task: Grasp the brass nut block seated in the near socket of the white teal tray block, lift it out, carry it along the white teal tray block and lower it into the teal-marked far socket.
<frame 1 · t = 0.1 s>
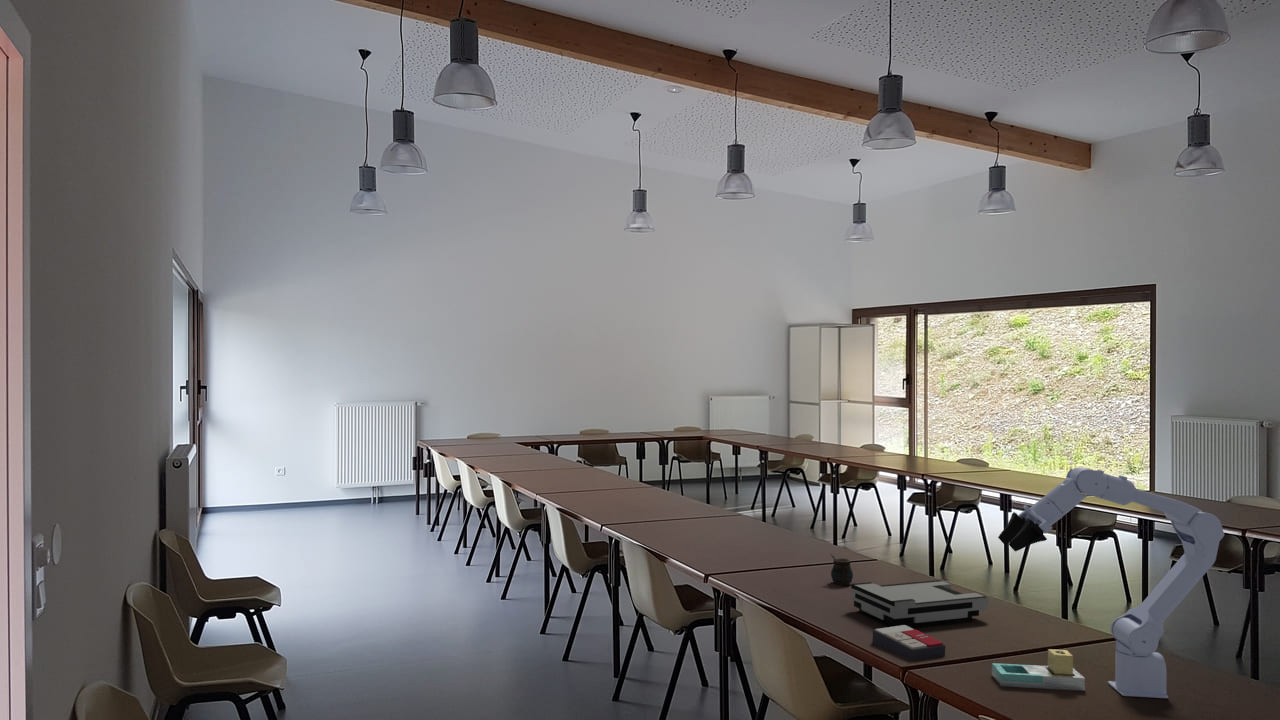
hand: (1006, 544, 192), 32 cm above the table, tool tilted 50°, fingers open, 7 cm apart
game console: (918, 617, 245), on the table
nut: (1060, 678, 192), point 1 cm above the table, touching white teal tray block
calculator: (908, 651, 215), on the table
mate gourd: (841, 584, 281), on the table
white teal tray block: (1037, 682, 192), on the table
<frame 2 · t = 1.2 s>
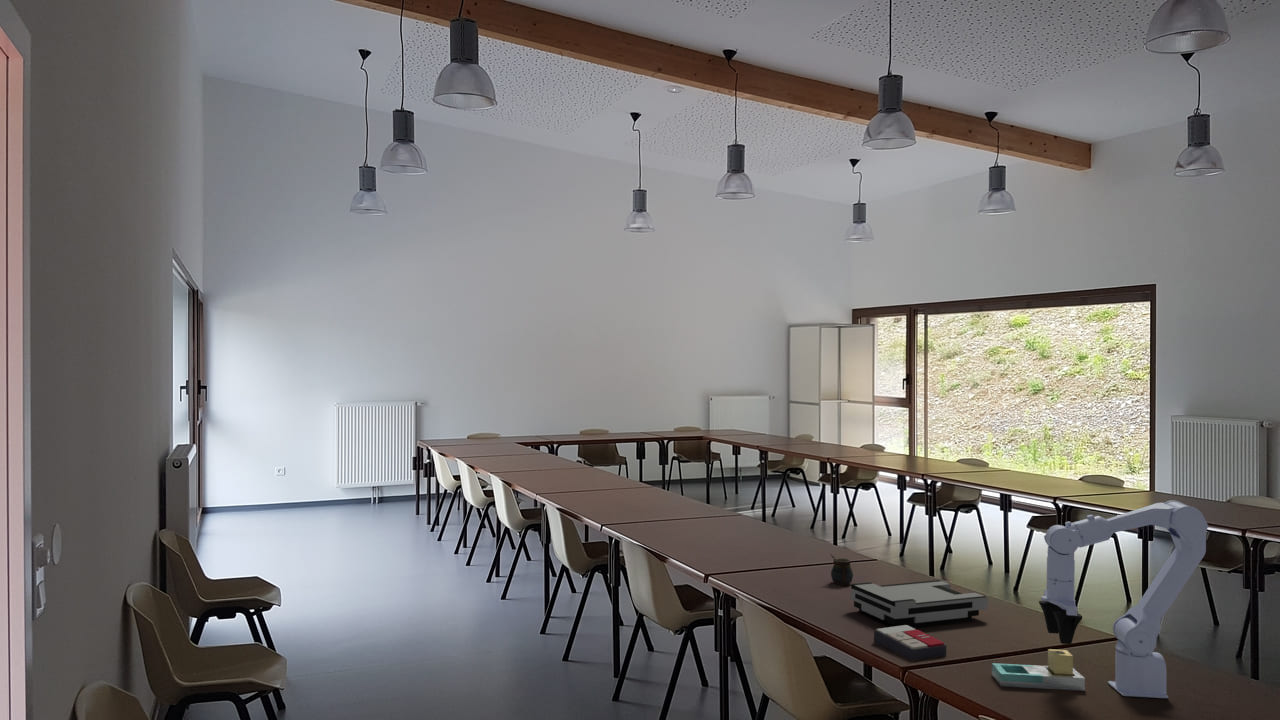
hand: (1059, 638, 192), 10 cm above the table, tool pointing down, fingers open, 7 cm apart
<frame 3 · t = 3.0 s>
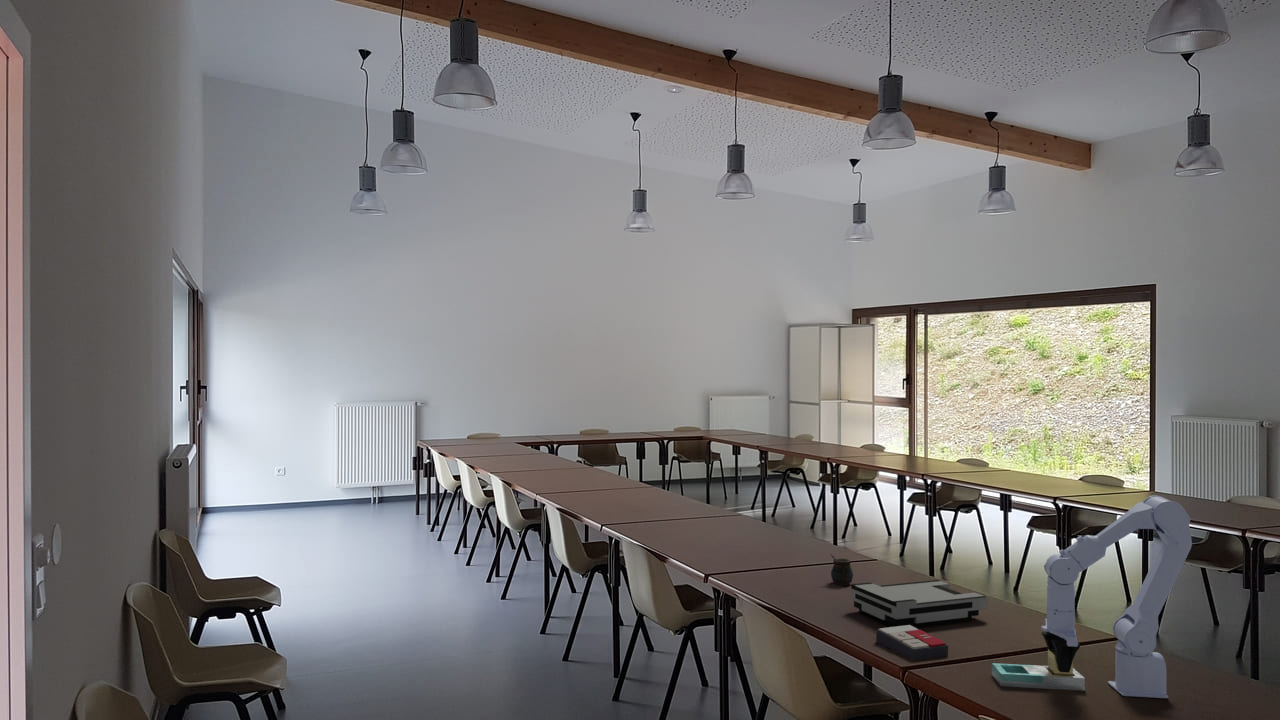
hand: (1060, 668, 192), 4 cm above the table, tool pointing down, fingers closed on nut, 4 cm apart
nut: (1060, 678, 192), point 1 cm above the table, touching gripper, white teal tray block
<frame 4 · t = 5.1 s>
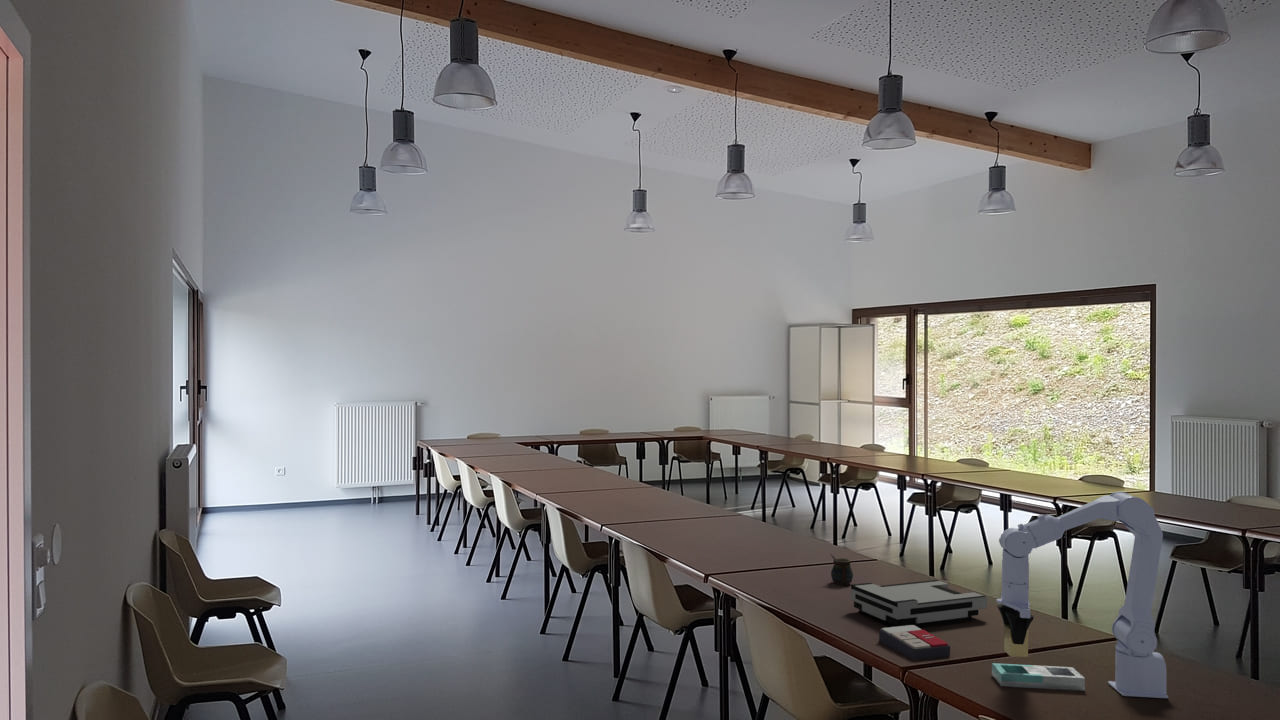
hand: (1014, 640, 193), 9 cm above the table, tool pointing down, fingers closed on nut, 4 cm apart
nut: (1015, 653, 193), point 6 cm above the table, touching gripper
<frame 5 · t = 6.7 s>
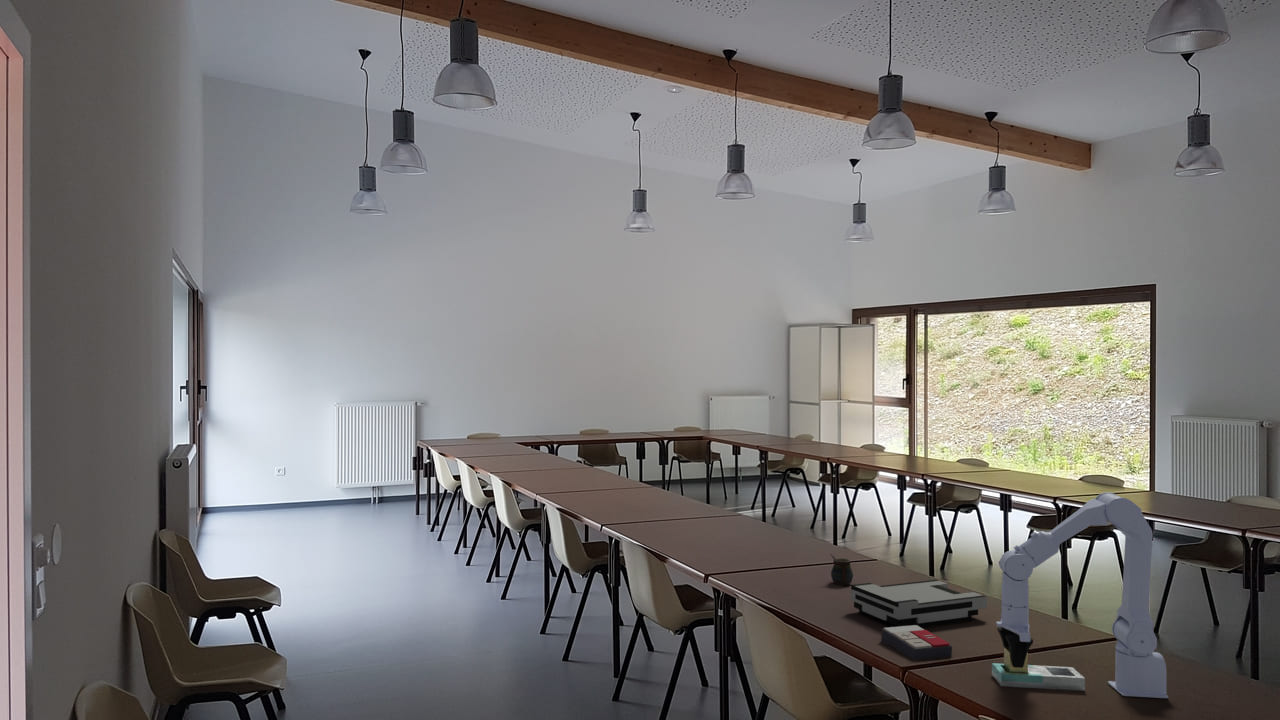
hand: (1014, 663, 193), 4 cm above the table, tool pointing down, fingers closed on nut, 4 cm apart
nut: (1015, 676, 193), point 1 cm above the table, touching gripper, white teal tray block
when the fingers open (4 cm above the table, at t = 7.4 s): nut stays where it is, resting on white teal tray block.
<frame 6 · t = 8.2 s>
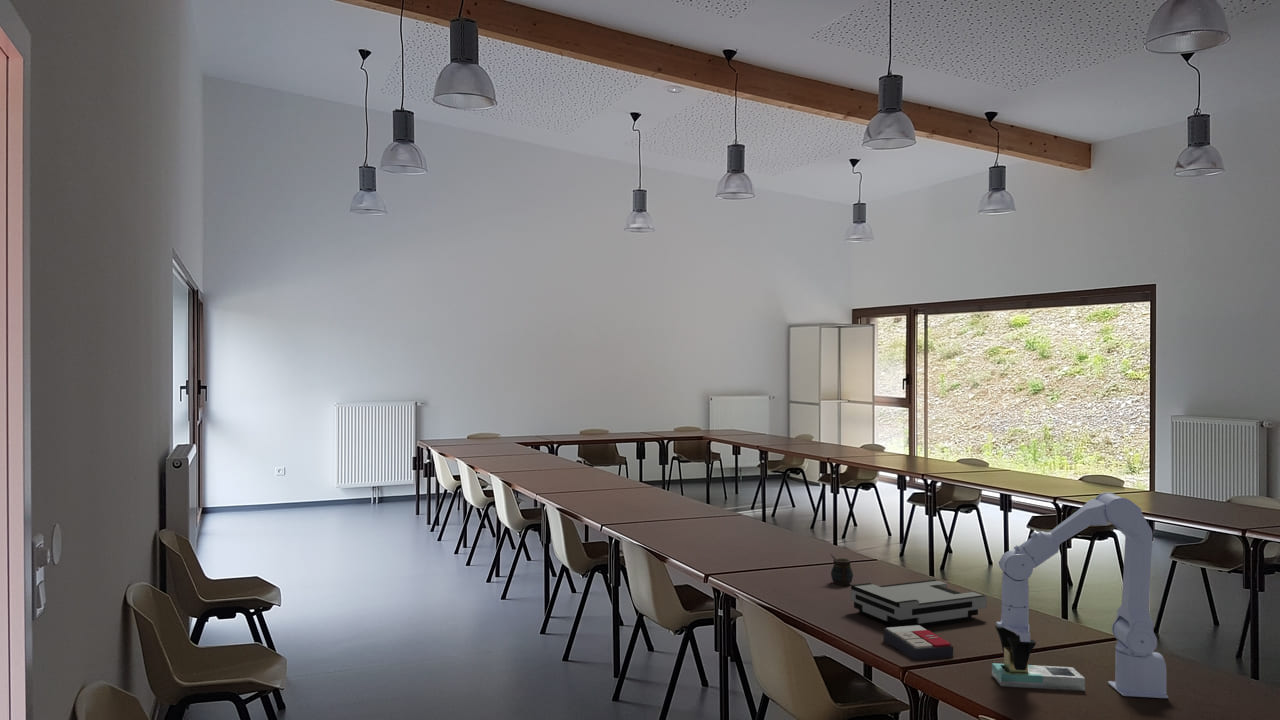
hand: (1014, 663, 193), 4 cm above the table, tool pointing down, fingers open, 7 cm apart
nut: (1015, 676, 193), point 1 cm above the table, touching white teal tray block
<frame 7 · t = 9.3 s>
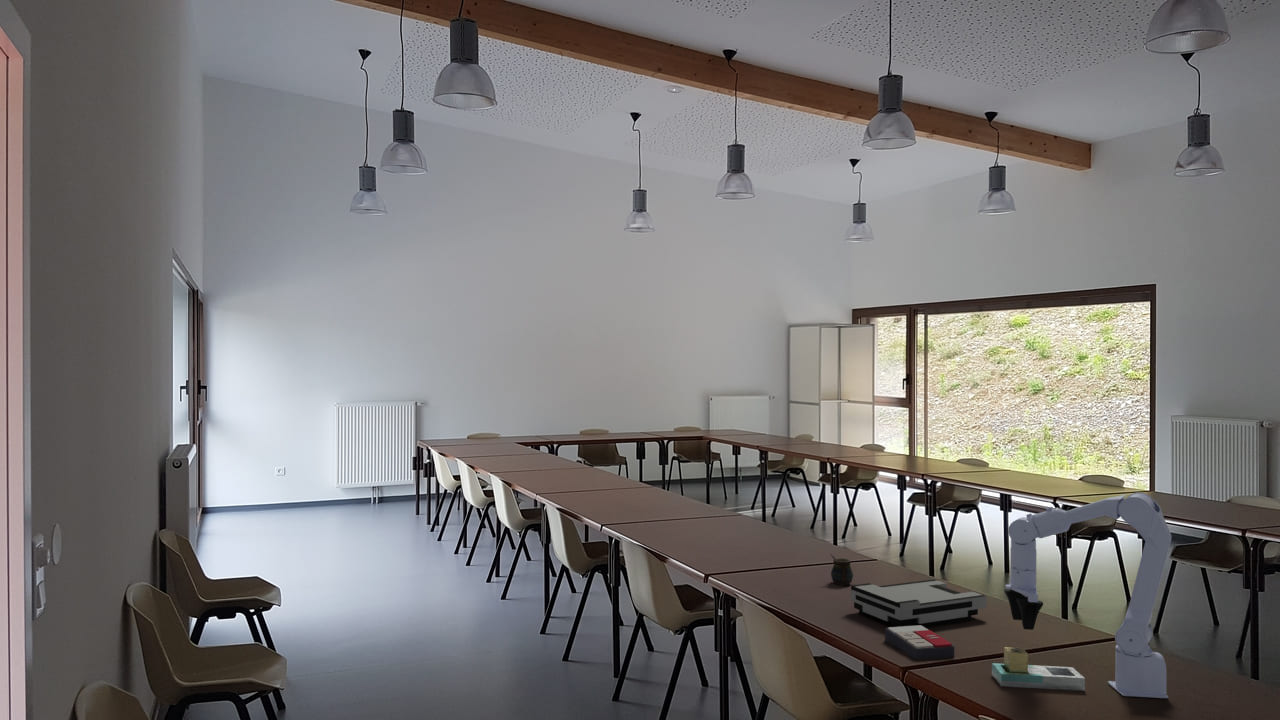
hand: (1022, 624, 203), 10 cm above the table, tool pointing down, fingers open, 7 cm apart
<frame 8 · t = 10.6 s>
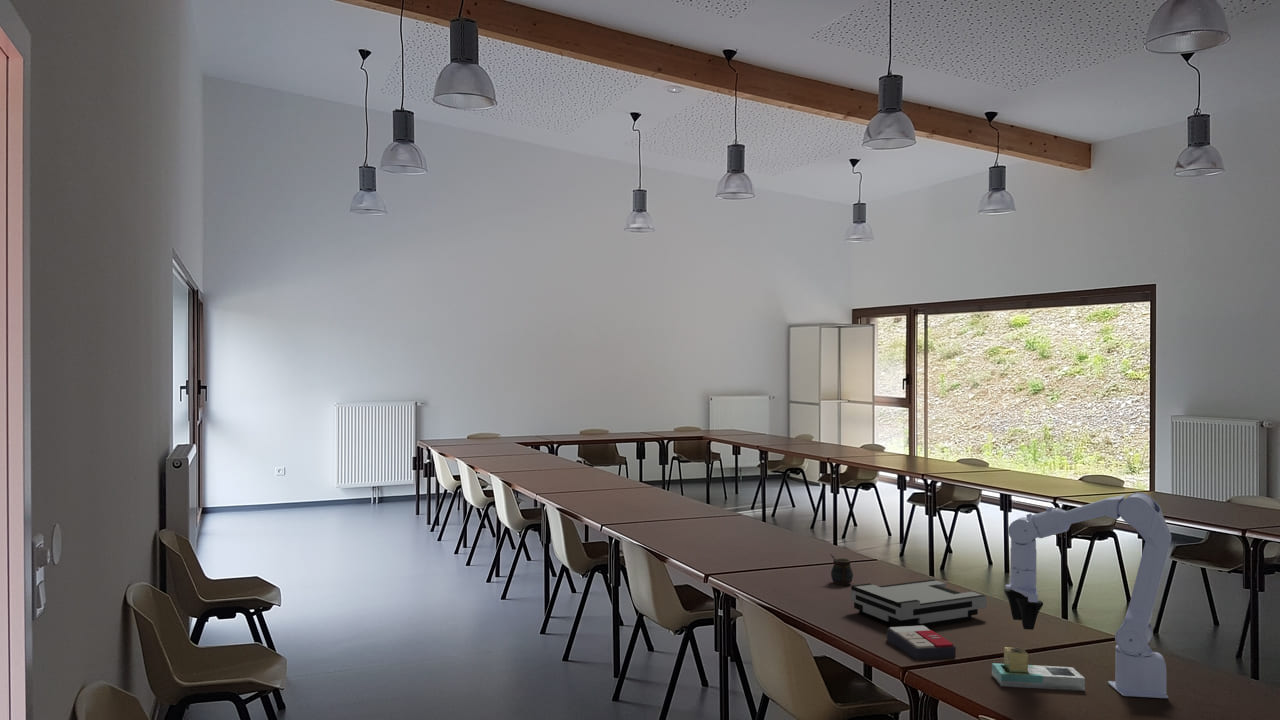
hand: (1022, 624, 203), 10 cm above the table, tool pointing down, fingers open, 7 cm apart
at the end: nut 0.2 cm from the target spot on the white teal tray block, point 1.2 cm above the white teal tray block's base; nut tilted 0°; the gripper is holding nothing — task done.
